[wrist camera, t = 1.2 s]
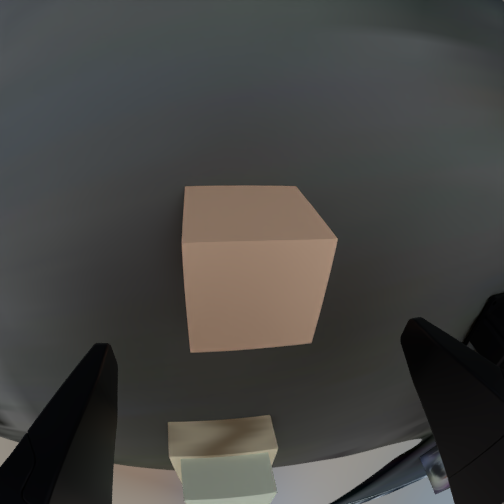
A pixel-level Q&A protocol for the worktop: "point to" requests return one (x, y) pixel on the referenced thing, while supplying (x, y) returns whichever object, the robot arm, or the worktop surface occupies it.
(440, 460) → the small box
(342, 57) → the worktop surface
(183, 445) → the tower base
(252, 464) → the tower top
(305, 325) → the terracotta cube
